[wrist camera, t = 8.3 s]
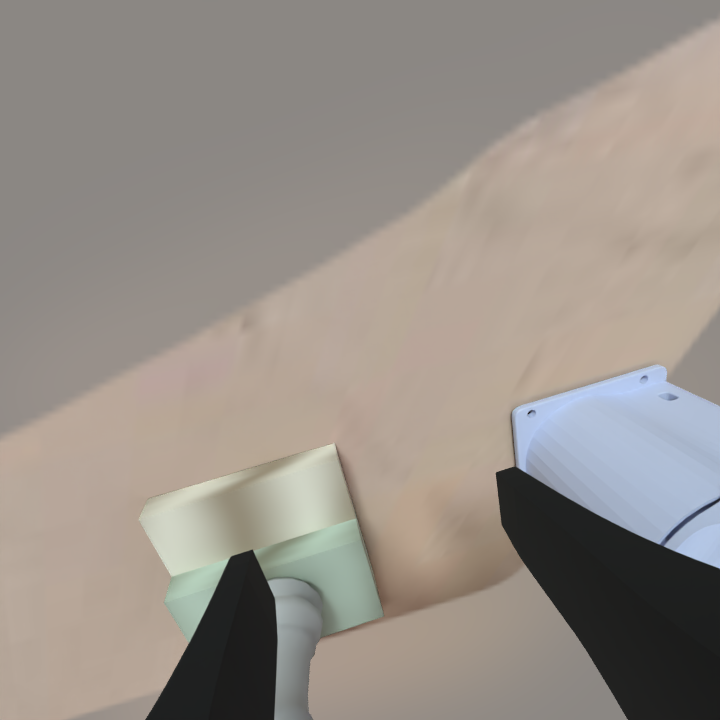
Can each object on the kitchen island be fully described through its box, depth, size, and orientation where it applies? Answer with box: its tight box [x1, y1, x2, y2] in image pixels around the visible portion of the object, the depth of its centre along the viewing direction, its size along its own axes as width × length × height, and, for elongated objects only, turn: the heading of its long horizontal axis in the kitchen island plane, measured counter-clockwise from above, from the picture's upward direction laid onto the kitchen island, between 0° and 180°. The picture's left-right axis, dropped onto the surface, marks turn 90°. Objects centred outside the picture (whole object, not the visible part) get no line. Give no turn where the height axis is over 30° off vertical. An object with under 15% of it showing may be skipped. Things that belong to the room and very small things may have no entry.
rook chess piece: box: [267, 577, 323, 720], centre depth 17 cm, size 4×4×8 cm
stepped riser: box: [139, 443, 384, 642], centre depth 22 cm, size 10×10×3 cm
